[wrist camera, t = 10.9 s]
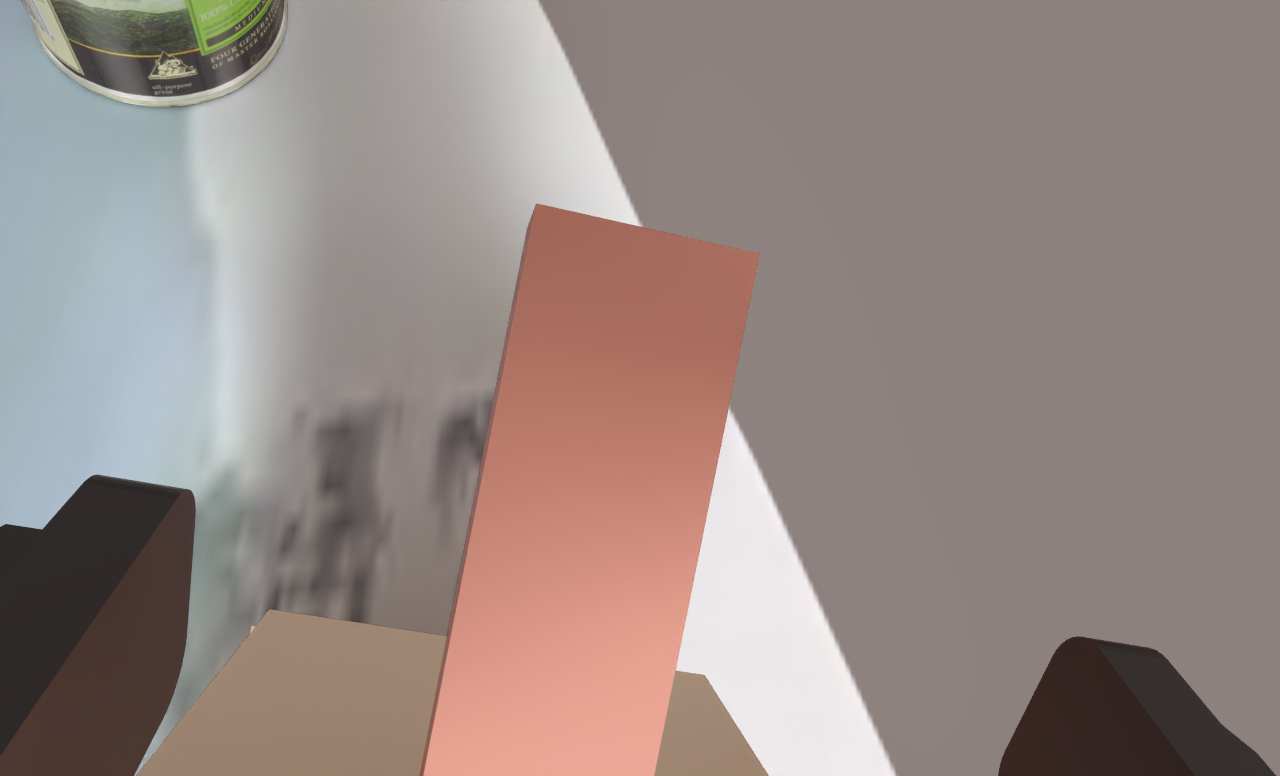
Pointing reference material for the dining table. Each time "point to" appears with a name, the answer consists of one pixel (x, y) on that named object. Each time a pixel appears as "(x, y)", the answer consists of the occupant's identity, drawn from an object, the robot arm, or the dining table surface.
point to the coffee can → (160, 45)
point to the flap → (535, 553)
